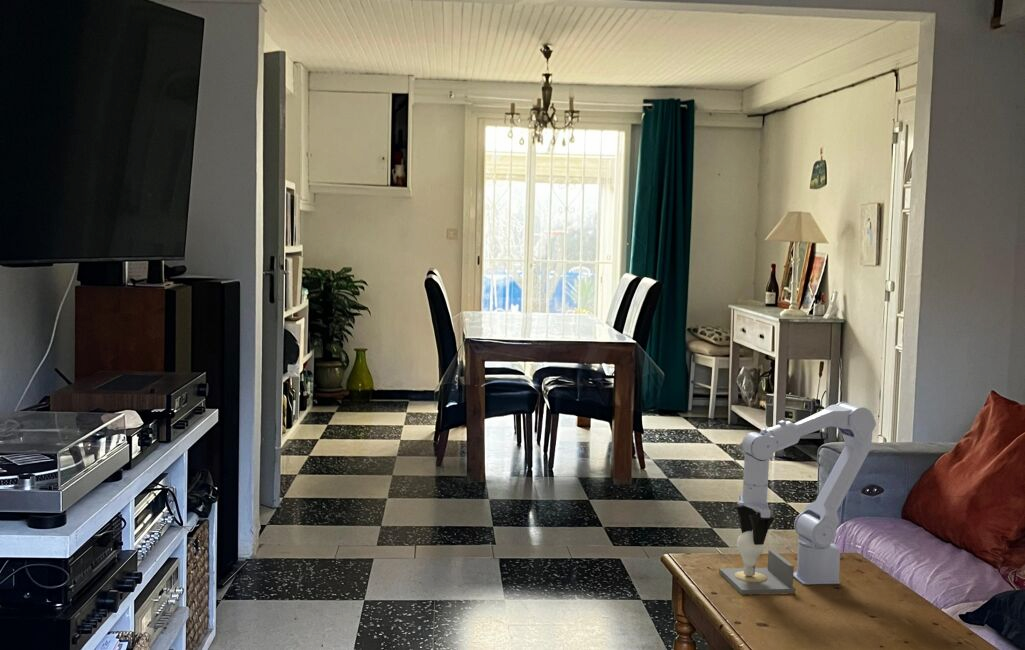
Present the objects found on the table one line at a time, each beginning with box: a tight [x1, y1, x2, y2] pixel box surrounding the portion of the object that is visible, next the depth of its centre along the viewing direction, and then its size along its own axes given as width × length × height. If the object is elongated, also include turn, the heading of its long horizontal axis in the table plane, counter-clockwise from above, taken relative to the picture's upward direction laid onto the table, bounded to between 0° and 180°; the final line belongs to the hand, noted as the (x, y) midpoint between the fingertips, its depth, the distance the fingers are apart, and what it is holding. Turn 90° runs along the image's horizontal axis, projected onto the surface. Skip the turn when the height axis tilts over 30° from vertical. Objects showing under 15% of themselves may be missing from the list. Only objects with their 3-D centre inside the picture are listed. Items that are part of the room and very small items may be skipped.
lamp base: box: [718, 549, 796, 596], centre depth 234 cm, size 13×15×6 cm
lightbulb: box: [736, 530, 765, 577], centre depth 234 cm, size 6×6×11 cm
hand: (752, 539), depth 234 cm, fingers open, 7 cm apart
